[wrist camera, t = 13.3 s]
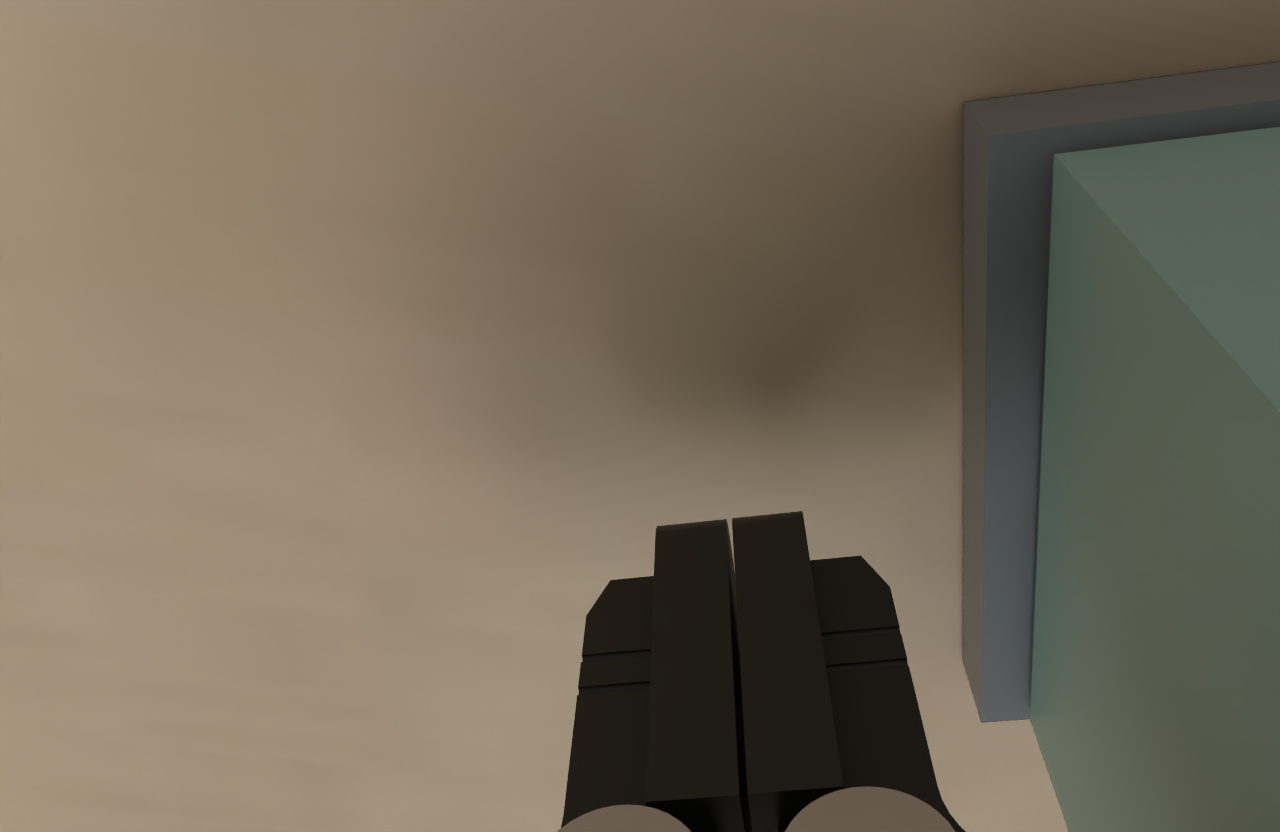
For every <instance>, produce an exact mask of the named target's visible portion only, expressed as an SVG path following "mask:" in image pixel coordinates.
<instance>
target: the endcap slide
mask: <svg viewBox="0 0 1280 832" xmlns="http://www.w3.org/2000/svg"><path fill="white" fill-rule="evenodd" d="M1030 721H1031V724H1032V727H1033V730H1034V733H1035V735H1036V738H1037V741H1038V744H1039V747H1040V750H1041V753H1042V756H1043V759H1044V761H1045V764H1046V767H1047V770H1048V773H1049V776H1050V779H1051V782H1052V784H1053V787H1054V790H1055V793H1056V796H1057V799H1058V802H1059V805H1060V807H1061V810H1062V813H1063V816H1064V819H1065V822H1066V825H1067V828H1068V830H1069V832H1280V127H1273V128H1265V129H1256V130H1248V131H1240V132H1232V133H1224V134H1215V135H1207V136H1199V137H1191V138H1182V139H1174V140H1166V141H1158V142H1150V143H1141V144H1133V145H1125V146H1117V147H1108V148H1100V149H1092V150H1084V151H1076V152H1067V153H1059V154H1054V162H1053V186H1052V209H1051V233H1050V257H1049V280H1048V304H1047V328H1046V351H1045V375H1044V399H1043V423H1042V446H1041V470H1040V494H1039V517H1038V541H1037V565H1036V588H1035V612H1034V636H1033V660H1032V683H1031V707H1030Z"/></svg>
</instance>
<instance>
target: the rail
mask: <svg viewBox="0 0 1280 832" xmlns="http://www.w3.org/2000/svg"><path fill="white" fill-rule="evenodd" d="M1273 127H1280V62H1275V63H1268V64H1260V65H1252V66H1244V67H1236V68H1228V69H1220V70H1212V71H1205V72H1197V73H1189V74H1181V75H1173V76H1165V77H1157V78H1150V79H1142V80H1134V81H1126V82H1118V83H1110V84H1102V85H1094V86H1087V87H1079V88H1071V89H1063V90H1055V91H1047V92H1039V93H1032V94H1024V95H1016V96H1008V97H1000V98H992V99H984V100H976V101H969V102H963V663H964V667H965V670H966V673H967V677H968V680H969V683H970V687H971V690H972V694H973V697H974V700H975V704H976V707H977V710H978V714H979V717H980V721H981V723H982V722H996V721H1010V720H1024V719H1030V707H1031V683H1032V660H1033V636H1034V612H1035V588H1036V565H1037V541H1038V517H1039V494H1040V470H1041V446H1042V423H1043V399H1044V375H1045V351H1046V328H1047V304H1048V280H1049V257H1050V233H1051V209H1052V186H1053V162H1054V154H1059V153H1067V152H1076V151H1084V150H1092V149H1100V148H1108V147H1117V146H1125V145H1133V144H1141V143H1150V142H1158V141H1166V140H1174V139H1182V138H1191V137H1199V136H1207V135H1215V134H1224V133H1232V132H1240V131H1248V130H1256V129H1265V128H1273Z"/></svg>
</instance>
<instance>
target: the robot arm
mask: <svg viewBox="0 0 1280 832" xmlns="http://www.w3.org/2000/svg"><path fill="white" fill-rule="evenodd" d="M732 528H733V546H734V563H735V571H734V564H733V557H732V549H731V542H730V535H729V529H728V523H727V519H724V520H714V521H704V522H694V523H685V524H675V525H665V526H657V528H656V539H655V564H654V576H649V577H639V578H629V579H619V580H610V582H609V583H608V585H607V586H606V588H605V589H604V591H603V592H602V594H601V595H600V597H599V598H598V600H597V601H596V603H595V604H594V606H593V607H592V608H591V610H590V611H589V613H588V614H587V616H586V624H585V633H584V642H583V651H582V658H583V662H582V663H581V668H580V677H579V685H578V688H579V695H577V703H576V712H575V720H574V729H573V738H572V747H571V755H570V764H569V773H568V781H567V790H566V799H565V808H564V816H563V821H562V826H561V829H559V830H558V831H557V832H965V831H964V830H963V829H962V828H961V827H960V826H959V825H958V823H957V822H956V821H955V820H954V818H953V817H952V816H951V815H950V813H949V812H948V810H947V808H946V806H945V804H944V803H943V801H942V798H941V795H940V792H939V789H938V786H937V782H936V778H935V774H934V770H933V765H932V761H931V757H930V753H929V749H928V744H927V740H926V736H925V732H924V728H923V724H922V719H921V715H920V711H919V707H918V703H917V698H916V694H915V690H914V686H913V682H912V677H911V673H910V669H909V666H908V664H907V656H906V652H905V648H904V644H903V640H902V636H901V634H900V629H899V623H898V619H897V615H896V610H895V606H894V602H893V598H892V594H891V589H890V587H889V586H888V584H887V583H886V582H885V581H884V580H883V579H882V578H881V577H880V576H879V575H878V574H877V573H876V572H875V570H874V569H873V568H872V567H871V566H870V565H869V564H868V563H867V562H866V561H865V560H864V559H863V558H862V556H852V557H842V558H832V559H821V560H811V561H810V558H809V551H808V545H807V538H806V531H805V525H804V518H803V512H802V511H800V512H790V513H780V514H770V515H760V516H751V517H741V518H732Z"/></svg>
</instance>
